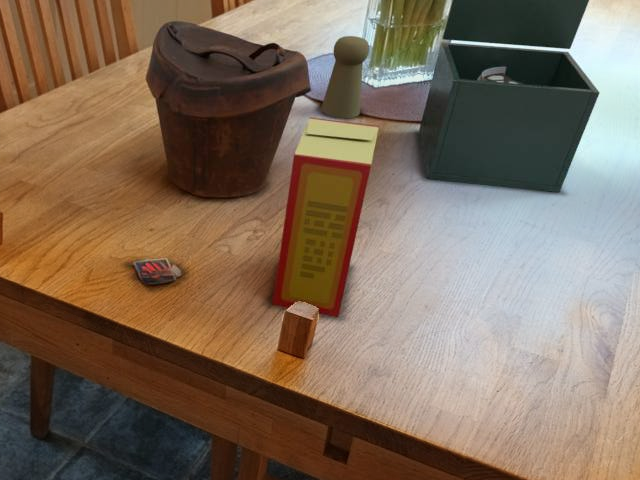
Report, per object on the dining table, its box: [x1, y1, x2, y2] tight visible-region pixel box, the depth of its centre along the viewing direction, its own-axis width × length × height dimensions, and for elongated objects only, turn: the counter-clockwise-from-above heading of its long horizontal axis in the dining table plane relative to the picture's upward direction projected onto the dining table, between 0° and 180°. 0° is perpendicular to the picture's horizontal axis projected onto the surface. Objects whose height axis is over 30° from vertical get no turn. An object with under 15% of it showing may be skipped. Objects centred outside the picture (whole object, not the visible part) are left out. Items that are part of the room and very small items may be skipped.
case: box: [145, 20, 312, 199], centre depth 88 cm, size 18×20×18 cm
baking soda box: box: [272, 116, 380, 318], centre depth 69 cm, size 10×6×16 cm
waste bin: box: [418, 41, 600, 193], centre depth 96 cm, size 17×17×13 cm
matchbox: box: [129, 257, 183, 285], centre depth 76 cm, size 5×5×1 cm
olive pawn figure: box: [320, 35, 370, 119], centre depth 110 cm, size 6×6×11 cm
